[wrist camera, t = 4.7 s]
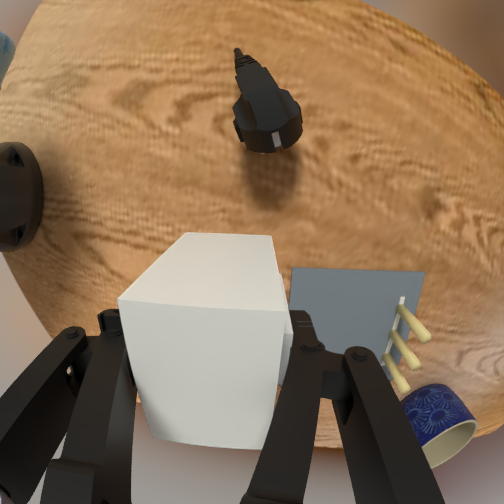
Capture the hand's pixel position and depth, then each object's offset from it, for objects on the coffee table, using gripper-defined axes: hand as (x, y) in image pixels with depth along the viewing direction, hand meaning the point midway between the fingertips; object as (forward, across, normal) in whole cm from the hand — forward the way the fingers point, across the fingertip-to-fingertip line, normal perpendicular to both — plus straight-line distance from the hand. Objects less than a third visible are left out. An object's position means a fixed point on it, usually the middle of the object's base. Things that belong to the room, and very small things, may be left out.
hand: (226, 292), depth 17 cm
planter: (+11, +30, -25) cm, 41 cm away
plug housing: (0, 0, 0) cm, 0 cm away
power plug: (+14, 0, +18) cm, 23 cm away
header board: (+12, +14, -10) cm, 21 cm away
